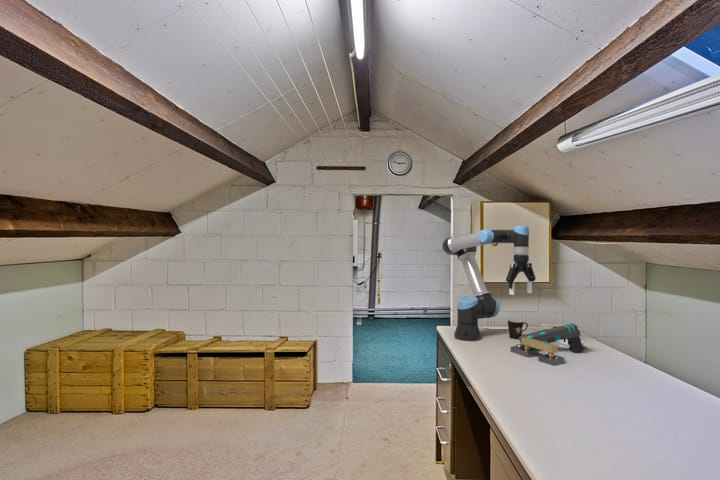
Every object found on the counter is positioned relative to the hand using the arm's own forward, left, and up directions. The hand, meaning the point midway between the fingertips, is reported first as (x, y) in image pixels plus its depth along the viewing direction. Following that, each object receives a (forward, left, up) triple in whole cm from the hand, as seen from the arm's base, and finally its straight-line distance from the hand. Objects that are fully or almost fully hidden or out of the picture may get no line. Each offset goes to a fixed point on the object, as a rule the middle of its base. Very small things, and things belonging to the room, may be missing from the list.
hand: (520, 293), depth 220 cm
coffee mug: (-14, +14, -29) cm, 35 cm away
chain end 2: (+25, -8, -29) cm, 39 cm away
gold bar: (+18, -8, -29) cm, 35 cm away
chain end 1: (+10, -8, -29) cm, 31 cm away
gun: (+12, +8, -29) cm, 33 cm away
